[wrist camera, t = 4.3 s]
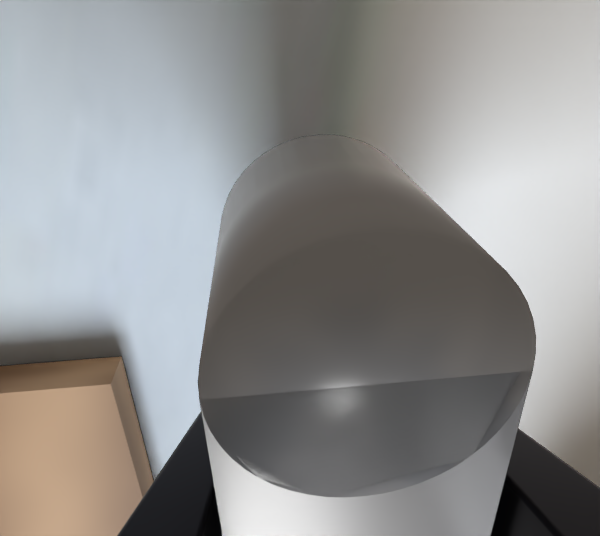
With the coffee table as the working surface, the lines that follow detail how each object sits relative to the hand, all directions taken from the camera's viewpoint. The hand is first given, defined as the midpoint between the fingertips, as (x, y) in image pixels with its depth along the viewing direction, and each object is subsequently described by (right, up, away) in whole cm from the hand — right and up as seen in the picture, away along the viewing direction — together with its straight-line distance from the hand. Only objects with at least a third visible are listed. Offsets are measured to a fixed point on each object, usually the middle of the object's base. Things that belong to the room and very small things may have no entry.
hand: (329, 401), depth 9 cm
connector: (0, -1, +2) cm, 2 cm away
